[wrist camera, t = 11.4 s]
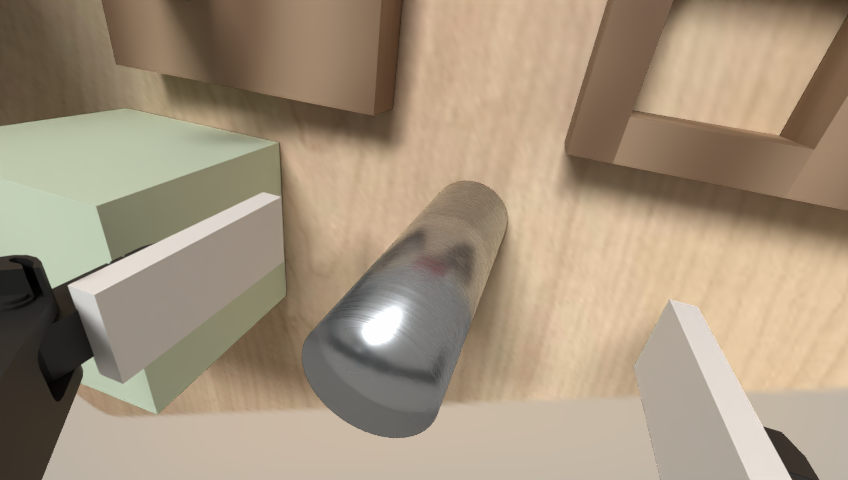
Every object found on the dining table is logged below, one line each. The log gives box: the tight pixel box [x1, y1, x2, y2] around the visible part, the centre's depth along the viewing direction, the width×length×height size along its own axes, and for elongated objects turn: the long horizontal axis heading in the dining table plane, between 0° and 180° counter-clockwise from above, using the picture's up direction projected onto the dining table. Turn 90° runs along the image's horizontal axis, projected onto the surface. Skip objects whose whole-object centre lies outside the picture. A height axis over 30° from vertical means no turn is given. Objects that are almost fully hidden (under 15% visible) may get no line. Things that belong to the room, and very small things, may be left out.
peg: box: [302, 181, 507, 438], centre depth 13 cm, size 3×3×10 cm
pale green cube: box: [0, 108, 286, 415], centre depth 18 cm, size 9×9×9 cm
